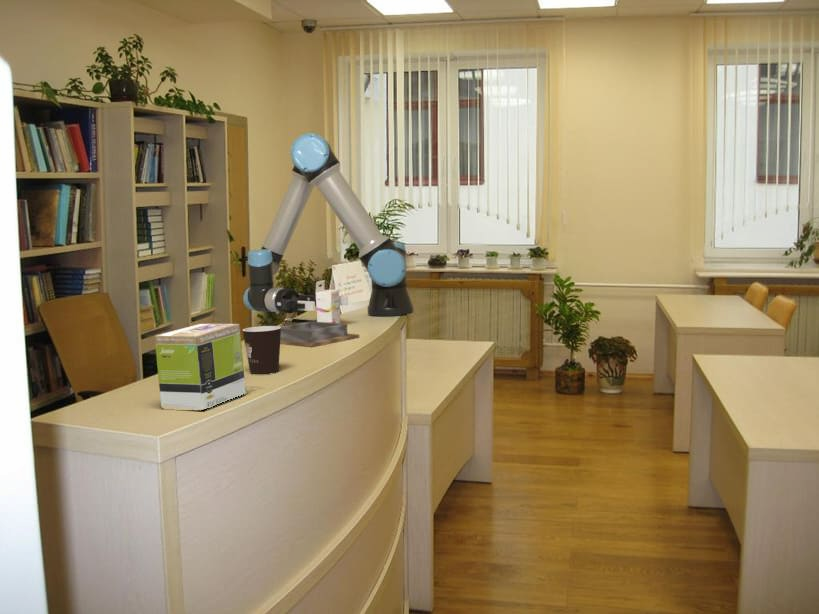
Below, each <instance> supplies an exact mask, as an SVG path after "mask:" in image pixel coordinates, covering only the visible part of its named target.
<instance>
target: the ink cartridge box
mask: <svg viewBox="0 0 819 614" xmlns="http://www.w3.org/2000/svg"><path fill="white" fill-rule="evenodd" d="M325 283H326V280H325V279H323V280H319V281H316V283H315V295H316V305H315V311H316V322H326V323H338V324H341V311H340V308H341V307H340V306H341V305H340V303H339V296H340V289H336V288H335V289H325V287H326V286H325Z"/></svg>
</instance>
